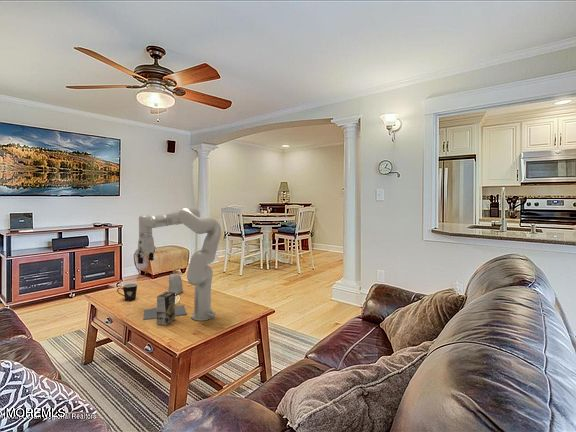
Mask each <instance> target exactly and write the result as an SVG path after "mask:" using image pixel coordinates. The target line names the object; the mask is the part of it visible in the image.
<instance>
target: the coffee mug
mask: <svg viewBox="0 0 576 432" xmlns="http://www.w3.org/2000/svg"><path fill="white" fill-rule="evenodd" d="M122 286H123V287H118V288H117V289H116V292H117V293H118V294H119V295H120V296H123V297H124V301H125V302H133V301H136V299H137V291H138V289H137V288H138V283H127V284H123V285H122ZM120 289H122V291H123V293H124V294H122V293H120V292H119V290H120Z"/></svg>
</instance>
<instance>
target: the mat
mask: <svg viewBox="0 0 576 432" xmlns="http://www.w3.org/2000/svg"><path fill="white" fill-rule="evenodd" d="M187 315H188V314H187V310H186V307H185V305H184V304H183V305H175V317H179V316H187ZM155 319H156V320H157V307H155V308H145V309H143V321H146V320H155Z"/></svg>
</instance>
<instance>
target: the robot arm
mask: <svg viewBox="0 0 576 432" xmlns="http://www.w3.org/2000/svg"><path fill="white" fill-rule="evenodd" d="M200 216H201V213H200V210H199V209H198V208H196V207H183V208H181V209H178V210H173V211H172V212H171V213H165V214H157V215H150V214H145V215H144V214H142V215H139V216H138V239H137V240H138V241H137V242H138V243H137V249H135V251H134V253H135V255H136V258H137V264H139V265H142V264H144V255H146V254H148V261H152V262H153V261H154V259H155V258H154V257H155V252H156V248H157V247H156V246H155V240H154V237H153V229H156V228H162V227H163V228H164V227H168V226H173V225H175V226H177V225H184V226H185V227H186V228H188V229H190V230H191V231H192V232H193V233H195V234H199V235H203V234H206V236H205V238H204V240H203V243H202V247H201V249H200V250H196V251H195V252H194V253H193V254H192V256H191V257H190V261H189V265H188V269H187V273H186V280H187V281H188V283H189V284H190V285H191V286H194V308H193V310H194V313H192V315H191V319H192V320H194V321H199V322H201V321H203V322H204V321H208V319H209V320H211V319H212V318H215V317H216V314H217V312H215V311H213V308H211V307H212V305H211V304H212V300H211V299H212V280H213V275H214V273H213V269H212V267H211V266H210V264H212V263H213V262H214V261H215V258H216V254H217V250H218V248H219V247H218V246H219V243H220V240H221V236H222V227H221V225H220V223H219V221H218V220H216V219H215V218H211V217H206V218H201V217H200Z"/></svg>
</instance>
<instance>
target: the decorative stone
mask: <svg viewBox="0 0 576 432" xmlns="http://www.w3.org/2000/svg"><path fill="white" fill-rule="evenodd" d="M168 277H169V279H168V291H167V292H173V293H175V294H177V295H180V294H182V293H183V290H184V289H183V281H182V280H183V279H182V276H181V275H180V274H179V273H178V274H177V273H171V274H170V275H169V276H168Z"/></svg>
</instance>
